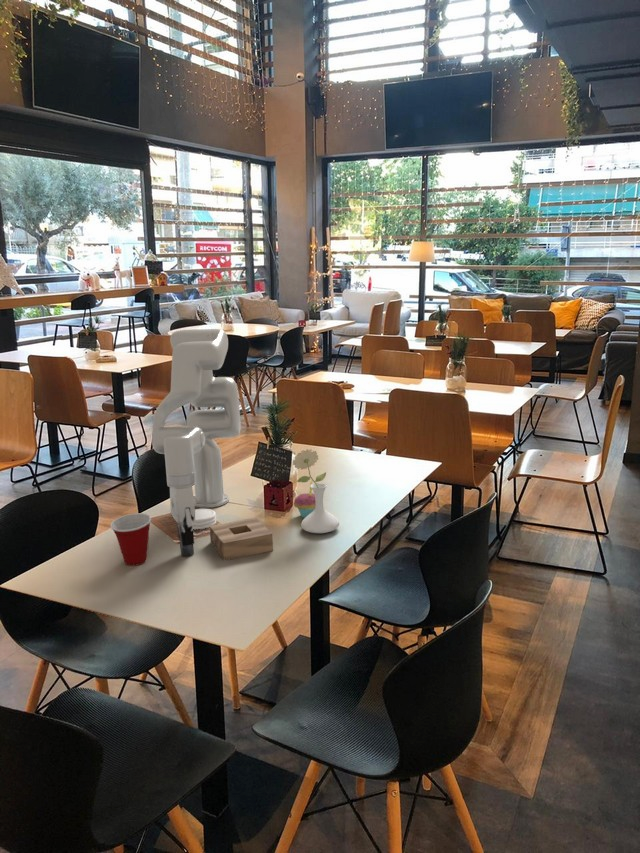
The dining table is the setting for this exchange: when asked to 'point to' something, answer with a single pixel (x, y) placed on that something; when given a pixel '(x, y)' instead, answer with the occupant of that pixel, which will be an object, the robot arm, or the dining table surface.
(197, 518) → the white round disc stack
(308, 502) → the cupcake
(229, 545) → the socket block
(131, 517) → the plastic cup
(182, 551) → the steel pin
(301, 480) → the flower in vase
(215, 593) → the dining table surface
